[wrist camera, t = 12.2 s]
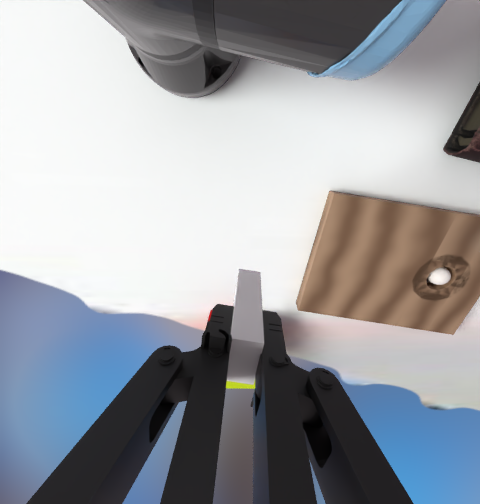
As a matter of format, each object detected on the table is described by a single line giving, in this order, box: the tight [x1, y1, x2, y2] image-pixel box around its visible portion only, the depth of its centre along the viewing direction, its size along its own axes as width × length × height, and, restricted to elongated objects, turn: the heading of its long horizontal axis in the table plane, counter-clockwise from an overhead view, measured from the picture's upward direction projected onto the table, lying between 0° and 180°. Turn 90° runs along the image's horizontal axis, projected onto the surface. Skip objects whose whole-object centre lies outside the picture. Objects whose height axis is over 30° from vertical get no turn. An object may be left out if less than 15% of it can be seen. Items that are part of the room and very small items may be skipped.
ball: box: [427, 267, 451, 285], centre depth 40 cm, size 3×3×3 cm
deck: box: [296, 191, 480, 335], centre depth 40 cm, size 30×22×2 cm
